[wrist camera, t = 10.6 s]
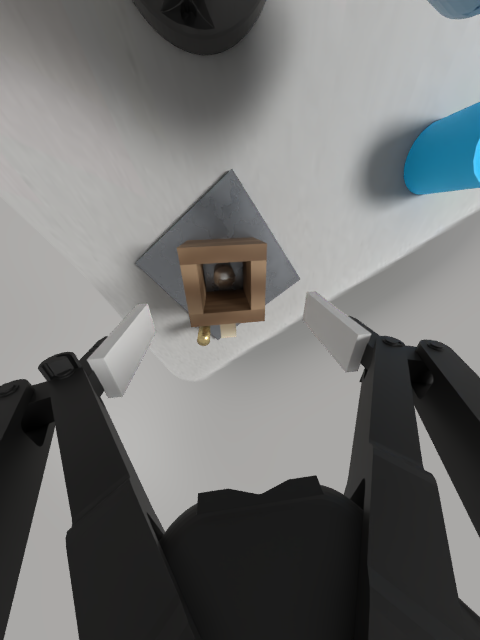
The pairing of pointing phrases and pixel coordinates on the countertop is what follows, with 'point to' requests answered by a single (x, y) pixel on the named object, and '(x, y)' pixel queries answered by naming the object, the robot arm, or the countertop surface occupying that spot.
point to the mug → (446, 155)
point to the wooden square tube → (229, 303)
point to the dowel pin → (204, 335)
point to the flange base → (218, 223)
